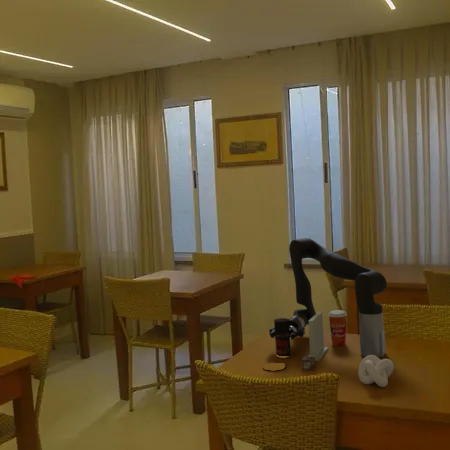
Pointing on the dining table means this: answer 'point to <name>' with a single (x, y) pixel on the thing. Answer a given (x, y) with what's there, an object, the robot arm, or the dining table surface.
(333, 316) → the paper cup
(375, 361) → the white knot sculpture
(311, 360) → the letter cube
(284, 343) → the deodorant
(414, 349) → the dining table surface
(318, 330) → the screen
